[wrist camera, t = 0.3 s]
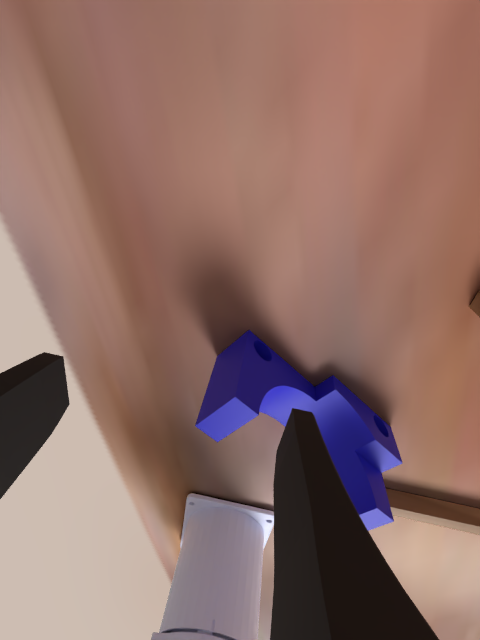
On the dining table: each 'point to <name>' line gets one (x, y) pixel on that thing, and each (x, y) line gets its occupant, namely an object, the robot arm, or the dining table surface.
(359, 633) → the robot arm
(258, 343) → the cable clip
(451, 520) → the corral
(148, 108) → the dining table surface
